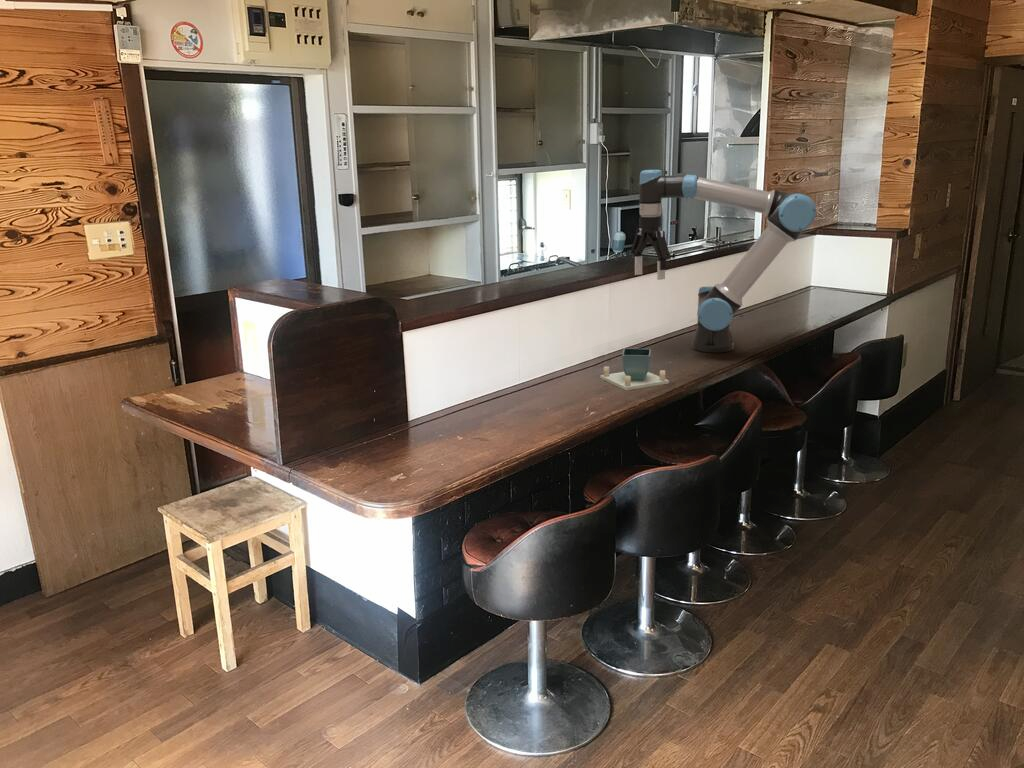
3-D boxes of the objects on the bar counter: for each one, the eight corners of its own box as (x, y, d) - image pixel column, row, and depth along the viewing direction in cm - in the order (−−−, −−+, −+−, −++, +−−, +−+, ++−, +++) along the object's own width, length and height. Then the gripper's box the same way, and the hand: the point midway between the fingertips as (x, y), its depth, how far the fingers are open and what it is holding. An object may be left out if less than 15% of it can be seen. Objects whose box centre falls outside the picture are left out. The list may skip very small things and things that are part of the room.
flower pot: (649, 382, 265) (650, 355, 263) (621, 381, 267) (622, 354, 264) (650, 375, 273) (651, 348, 271) (623, 374, 275) (623, 348, 272)
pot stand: (641, 371, 281) (641, 360, 280) (668, 383, 267) (669, 371, 266) (600, 378, 275) (600, 366, 274) (626, 390, 261) (626, 378, 260)
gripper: (621, 214, 298) (621, 273, 304) (663, 218, 277) (662, 282, 283) (638, 213, 301) (638, 271, 307) (681, 217, 280) (680, 280, 286)
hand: (649, 277), depth 295 cm, fingers open, 13 cm apart
